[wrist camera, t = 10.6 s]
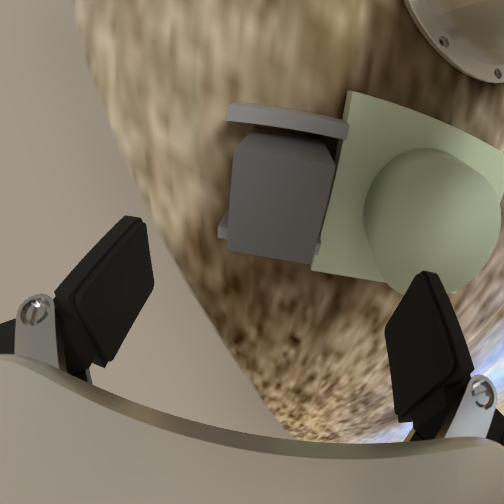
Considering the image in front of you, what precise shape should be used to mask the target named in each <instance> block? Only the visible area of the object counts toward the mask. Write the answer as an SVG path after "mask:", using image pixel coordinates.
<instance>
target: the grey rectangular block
mask: <svg viewBox="0 0 504 504" xmlns="http://www.w3.org/2000/svg"><path fill="white" fill-rule="evenodd" d="M335 167H336V166H335V164H334V161H333V159H332V157H331V155H330V153H329V151H328V149H327V146H326V144H325V142H324V140H323V139H319V138H313V137H308V136H303V135H297V134H291V133H285V132H279V131H272V130H265V129H258V128H253V129H252V130H251V132H250V133H249V134H248V135H247V136H246V137H245V138H244V139H243V140H242V141H241V142H240V143H239V144H238V145H237V146H236V147H235V148H234V153H233V164H232V176H231V188H230V201H229V214H228V228H227V243H226V250H227V251H233V252H238V253H244V254H250V255H256V256H262V257H267V258H273V259H279V260H285V261H291V262H297V263H302V264H308V265H311V262H312V259H313V255H314V252H315V248H316V244H317V240H318V237H319V233H320V229H321V225H322V221H323V217H324V213H325V209H326V205H327V201H328V197H329V193H330V189H331V184H332V180H333V176H334V171H335Z"/></svg>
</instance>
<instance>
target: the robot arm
mask: <svg viewBox="0 0 504 504" xmlns="http://www.w3.org/2000/svg"><path fill="white" fill-rule="evenodd" d="M404 3H405V5H406V7H407V9H408V11H409V14H410V16H411V18H412V19H413V21H414V23H415V24H416V26H417V27H418V29H419V31H420V32H421V33H422V35H423V36H424V37H425V38H426V40H427V41H428V42H429V44H430V45H431V46H432V47H433V48H434V49H435V50H436V51H437V52H438V53H439V54H440V55H441V57H443V58H444V59H445V60H446V61H447V62H449V63H450V64H451V65H452V66H453V67H455V68H456V69H458V70H459V71H461V72H462V73H464V74H465V75H468V76H470V77H472V78H474V79H476V80H480V81H485V82H491V83H503V82H504V0H404ZM439 41H440V42H441V44H440V42H439ZM153 287H154V277H153V271H152V264H151V257H150V251H149V244H148V235H147V227H146V224H145V223H143V221H142V219H141V218H139V217H133V216H124V217H123V218H122V219H121V220H120V221H119V222H118V223H117V224H116V225H115V226H114V227H113V228H112V229H111V230H110V231H109V232H108V233H107V234H106V235H105V236H104V237H103V238H102V239H101V240H100V241H99V242H98V243H97V244H96V245H95V246H94V247H93V248H92V249H91V250H90V251H89V253H88V254H87V255H86V256H85V257H84V258H83V259H82V260H81V261H80V262H79V264H78V265H77V266H76V267H75V268H74V269H73V270H72V271H71V272H70V274H69V275H68V276H67V277H66V278H65V279H64V281H63V282H62V283H61V284H60V285H59V287H58V288H57V289H56V290H55V291H54V293H55V295H56V297H55V298H54V299H53V300H52V298H51V297H50V296H48V295H46V294H36V295H33V296H31V297H29V298H28V299H26V300H25V301H24V302H23V303H22V304H21V305H20V307H19V309H18V311H17V315H16V319H13V320H10V321H7V322H4V323H1V324H0V504H504V416H503V415H502V414H501V413H500V412H499V411H498V410H497V409H496V405H497V393H496V389H495V387H494V385H493V383H492V382H491V381H490V380H489V379H488V378H487V377H485V376H483V375H475V376H473V377H472V378H471V376H470V373H471V372H472V371H473V370H474V366H473V363H472V359H471V356H470V353H469V350H468V347H467V344H466V341H465V338H464V336H463V333H462V330H461V327H460V325H459V322H458V320H457V317H456V314H455V312H454V309H453V307H452V305H451V302H450V300H449V298H448V295H447V293H446V291H445V289H444V286H443V284H442V282H441V280H440V278H439V276H438V274H437V273H433V272H429V271H421V272H420V273H419V274H416V275H415V277H414V279H413V280H412V282H411V284H410V286H409V288H408V289H407V291H406V293H405V295H404V296H403V298H402V300H401V302H400V303H399V305H398V307H397V308H396V310H395V312H394V313H393V315H392V316H391V318H390V320H389V321H388V323H387V324H386V327H385V339H386V345H387V352H388V358H389V365H390V373H391V381H392V389H393V399H394V410H395V413H396V415H398V421H399V423H403V422H412V421H413V428H412V430H411V431H410V433H409V434H408V436H407V437H406V439H405V440H404V441H403V442H397V443H375V444H345V443H323V442H309V441H298V440H288V439H281V438H273V437H266V436H260V435H254V434H248V433H242V432H238V431H233V430H228V429H223V428H219V427H214V426H210V425H206V424H203V423H199V422H195V421H191V420H188V419H184V418H181V417H177V416H174V415H171V414H167V413H164V412H161V411H158V410H155V409H152V408H149V407H146V406H144V405H141V404H138V403H135V402H133V401H130V400H127V399H125V398H122V397H120V396H117V395H115V394H113V393H110V392H108V391H106V390H103V389H101V388H98V387H96V386H94V385H93V384H92V380H91V376H90V371H89V367H90V365H91V364H92V363H94V364H96V365H99V366H101V367H103V368H105V367H106V365H107V363H108V361H109V362H110V361H112V360H113V359H114V357H115V355H116V354H117V352H118V350H119V348H120V346H121V344H122V343H123V340H124V339H125V337H126V335H127V333H128V332H129V330H130V328H131V326H132V325H133V323H134V321H135V319H136V318H137V316H138V314H139V312H140V311H141V309H142V307H143V306H144V304H145V302H146V300H147V299H148V297H149V295H150V294H151V292H152V290H153Z"/></svg>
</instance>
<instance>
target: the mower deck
mask: <svg viewBox="0 0 504 504" xmlns="http://www.w3.org/2000/svg"><path fill="white" fill-rule="evenodd" d="M225 121H235V122H244V123H253V124H261V125H268V126H275V127H281V128H288V129H294V130H299V131H305V132H310V133H315V134H320V135H325V136H330V137H334V138H338V143H337V148H336V153H335V157H334V164H335V166H336V167H335V171H334V176H333V180H332V184H331V189H330V193H329V197H328V201H327V205H326V209H325V213H324V217H323V221H322V225H321V229H320V233H319V237H318V240H317V244H316V248H315V252H314V255H313V259H312V262H311V270H312V271H318V272H324V273H330V274H336V275H342V276H348V277H354V278H360V279H366V280H372V281H378V282H384V283H387V284H388V285H389V286H390V287H391V288H392V289H394V290H395V291H396V292H398V293H400V294H402V295H405V293H406V291H407V289H408V288H409V286H410V284H411V282H412V280H413V279H414V277H415V275H416V274H419V273H420V272H421V271H429V272H433V273H437V274H438V276H439V278H440V280H441V282H442V284H443V286H444V289H445V291H446V293H447V294H449V293H452V294H455V293H456V291H457V290H458V289H459V288H461V287H463V286H464V285H466V284H467V283H468V282H469V281H471V280H472V279H473V278H474V277H475V276H476V275H477V274H478V273H479V272H480V271H481V270H482V268H483V267H484V266H485V264H486V263H487V262H488V260H489V258H490V257H491V255H492V253H493V251H494V248H495V246H496V243H497V240H498V237H499V233H500V226H501V210H500V202H501V199H502V196H503V194H504V153H503V152H501V151H499V150H498V149H496V148H494V147H492V146H491V145H489V144H487V143H485V142H483V141H481V140H479V139H478V138H476V137H474V136H472V135H470V134H468V133H466V132H464V131H462V130H459V129H457V128H455V127H453V126H451V125H449V124H446V123H444V122H442V121H440V120H437V119H435V118H432V117H430V116H427V115H425V114H422V113H420V112H417V111H415V110H412V109H409V108H406V107H404V106H401V105H398V104H395V103H392V102H389V101H386V100H382V99H379V98H376V97H372V96H369V95H365V94H362V93H358V92H354V91H347V95H346V101H345V107H344V112H343V118H342V119H339V118H334V117H330V116H325V115H320V114H315V113H310V112H305V111H299V110H293V109H287V108H281V107H274V106H267V105H259V104H250V103H240V102H235V103H232V104H229V105H227V107H226V118H225ZM228 214H229V209H228V208H227V210H226V212H225V213H224V215H223V217H222V219H221V221H220V223H219V225H218V235H217V238H221V239H227V228H228Z"/></svg>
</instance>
